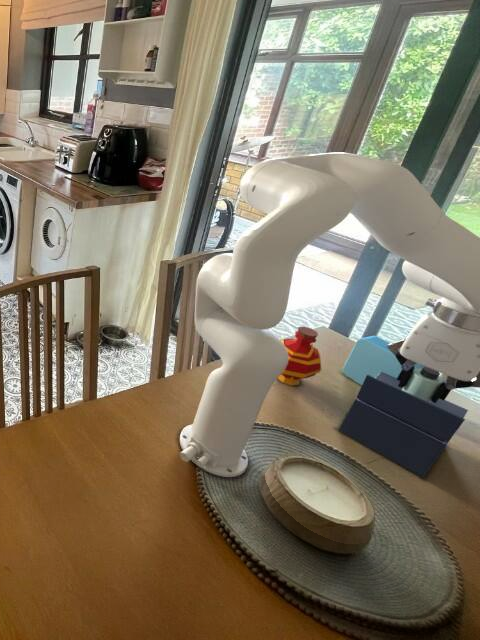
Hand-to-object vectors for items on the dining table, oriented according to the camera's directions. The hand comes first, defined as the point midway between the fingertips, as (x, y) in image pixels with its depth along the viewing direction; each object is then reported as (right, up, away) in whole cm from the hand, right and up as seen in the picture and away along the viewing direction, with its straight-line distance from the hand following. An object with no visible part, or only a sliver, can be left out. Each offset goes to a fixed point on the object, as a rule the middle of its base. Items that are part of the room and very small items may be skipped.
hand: (418, 391), depth 83 cm
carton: (+2, -13, +7) cm, 15 cm away
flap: (-5, -2, -2) cm, 6 cm away
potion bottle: (-8, -5, +25) cm, 26 cm away
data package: (+12, -6, +22) cm, 26 cm away
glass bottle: (0, -2, +1) cm, 3 cm away
